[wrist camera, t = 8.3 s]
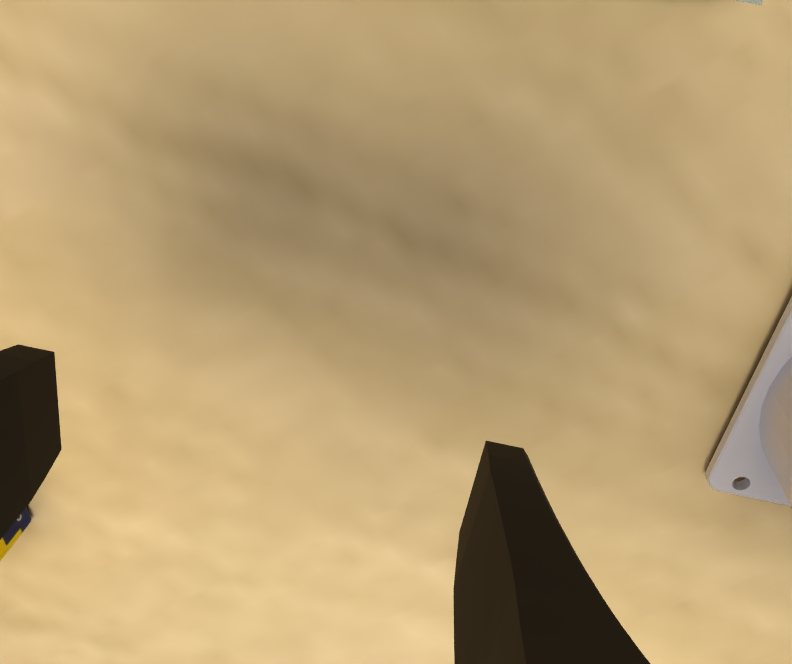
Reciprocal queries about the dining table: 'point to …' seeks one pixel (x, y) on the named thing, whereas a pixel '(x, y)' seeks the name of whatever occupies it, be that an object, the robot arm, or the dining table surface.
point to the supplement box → (14, 532)
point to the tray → (752, 1)
